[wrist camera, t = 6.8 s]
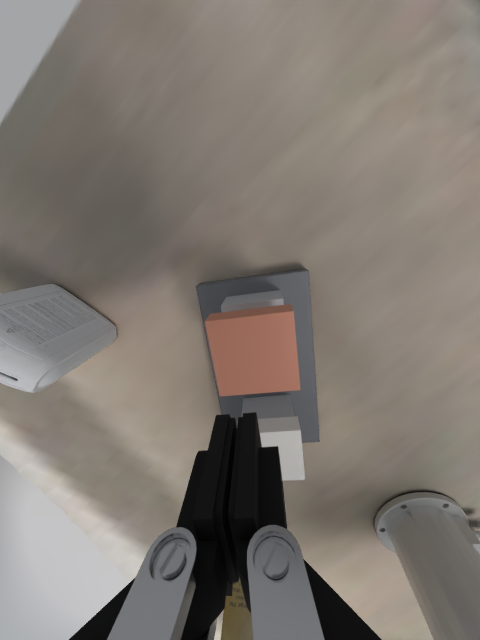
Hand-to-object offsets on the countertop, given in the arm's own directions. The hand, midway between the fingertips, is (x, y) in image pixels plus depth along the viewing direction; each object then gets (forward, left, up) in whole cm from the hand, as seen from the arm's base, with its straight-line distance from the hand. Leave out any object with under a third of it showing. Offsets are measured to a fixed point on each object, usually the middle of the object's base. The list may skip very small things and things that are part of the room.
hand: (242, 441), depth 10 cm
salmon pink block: (0, 0, -15) cm, 15 cm away
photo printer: (+22, -2, -20) cm, 30 cm away
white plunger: (0, +13, -18) cm, 22 cm away
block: (0, +7, -20) cm, 21 cm away
